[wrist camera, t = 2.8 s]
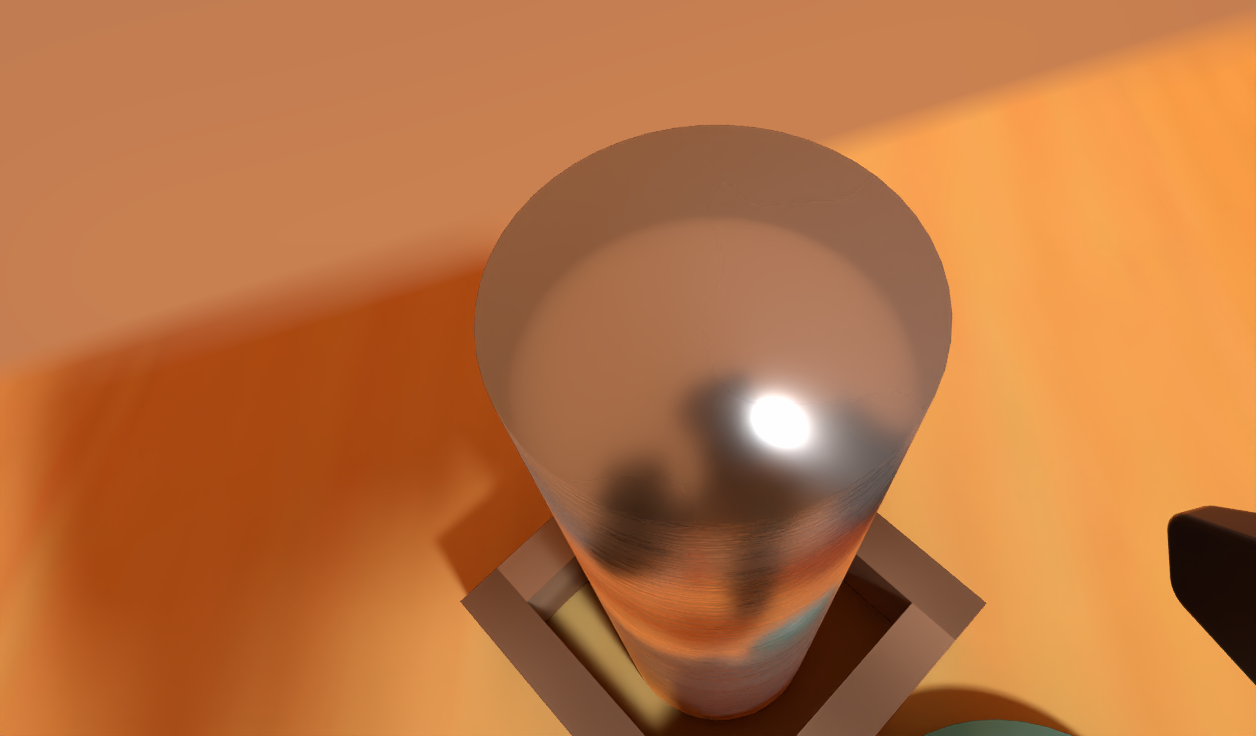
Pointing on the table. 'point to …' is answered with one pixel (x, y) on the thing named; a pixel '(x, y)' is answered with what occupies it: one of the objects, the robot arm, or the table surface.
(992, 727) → the shiny teal dome
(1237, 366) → the table surface
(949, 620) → the open brown square box
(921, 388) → the peg
